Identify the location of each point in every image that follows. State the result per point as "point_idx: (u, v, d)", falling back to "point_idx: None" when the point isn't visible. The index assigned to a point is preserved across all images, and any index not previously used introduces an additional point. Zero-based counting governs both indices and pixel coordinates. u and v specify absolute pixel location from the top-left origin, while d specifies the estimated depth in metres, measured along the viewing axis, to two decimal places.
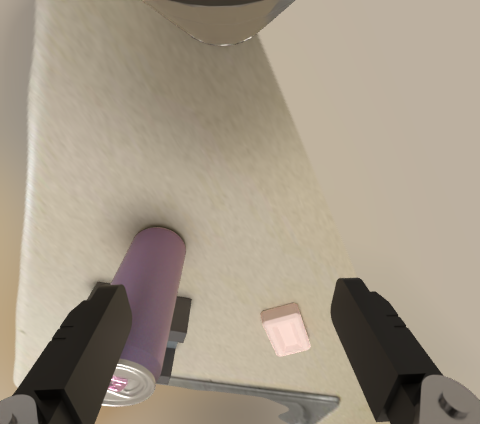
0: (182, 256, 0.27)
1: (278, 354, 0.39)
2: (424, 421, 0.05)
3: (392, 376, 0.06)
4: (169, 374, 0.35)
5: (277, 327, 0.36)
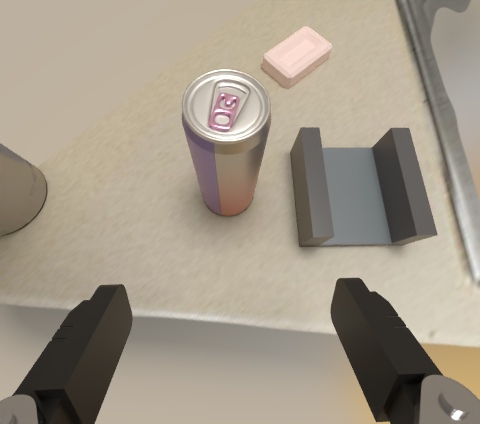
0: None
1: (328, 47, 0.36)
2: (424, 421, 0.05)
3: (392, 376, 0.06)
4: (389, 131, 0.28)
5: (291, 64, 0.35)
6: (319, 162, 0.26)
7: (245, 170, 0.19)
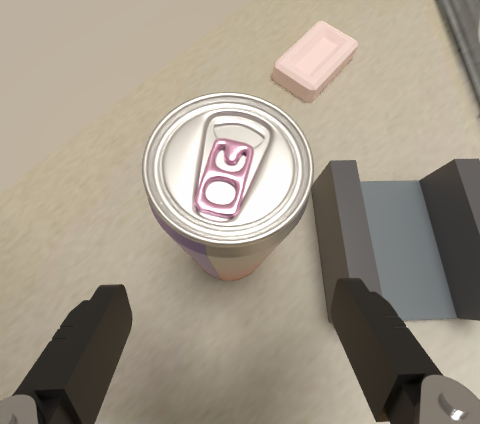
0: None
1: (354, 44, 0.28)
2: (424, 421, 0.05)
3: (392, 376, 0.06)
4: (452, 163, 0.20)
5: (311, 72, 0.27)
6: (359, 212, 0.19)
7: (261, 258, 0.11)
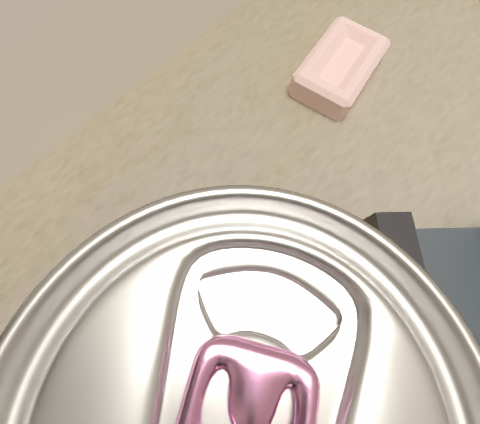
0: None
1: (386, 43, 0.22)
2: None
3: None
4: None
5: (340, 82, 0.21)
6: None
7: None
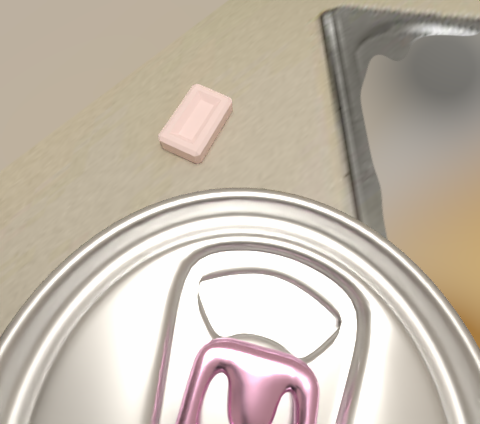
0: None
1: (227, 102, 0.31)
2: None
3: None
4: None
5: (194, 137, 0.29)
6: None
7: None
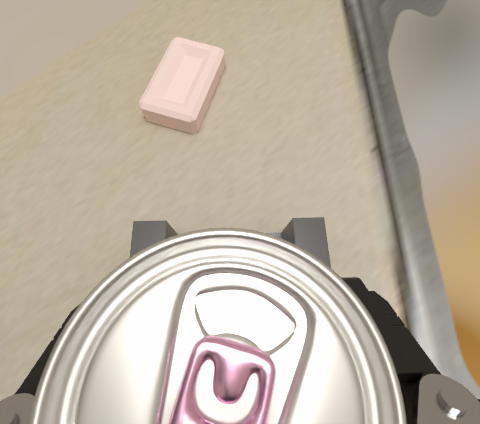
0: None
1: (219, 53, 0.25)
2: (422, 419, 0.05)
3: None
4: (292, 222, 0.17)
5: (184, 99, 0.23)
6: None
7: None
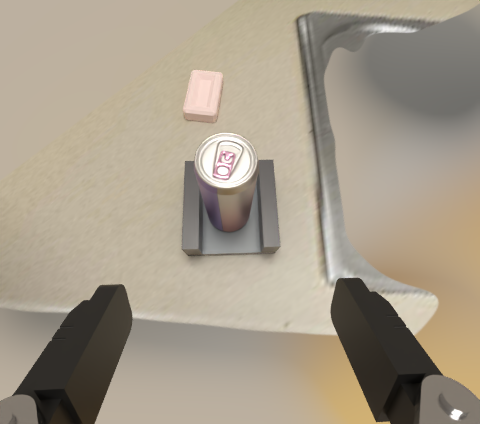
0: None
1: (220, 75, 0.43)
2: (424, 421, 0.05)
3: (392, 376, 0.06)
4: (258, 162, 0.35)
5: (207, 104, 0.42)
6: (195, 189, 0.33)
7: (240, 202, 0.25)
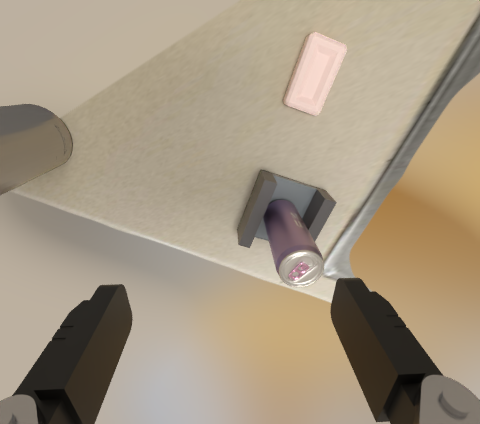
0: (281, 205, 0.41)
1: (343, 53, 0.33)
2: (424, 421, 0.05)
3: (392, 376, 0.06)
4: (323, 199, 0.40)
5: (313, 96, 0.36)
6: (264, 207, 0.40)
7: None
